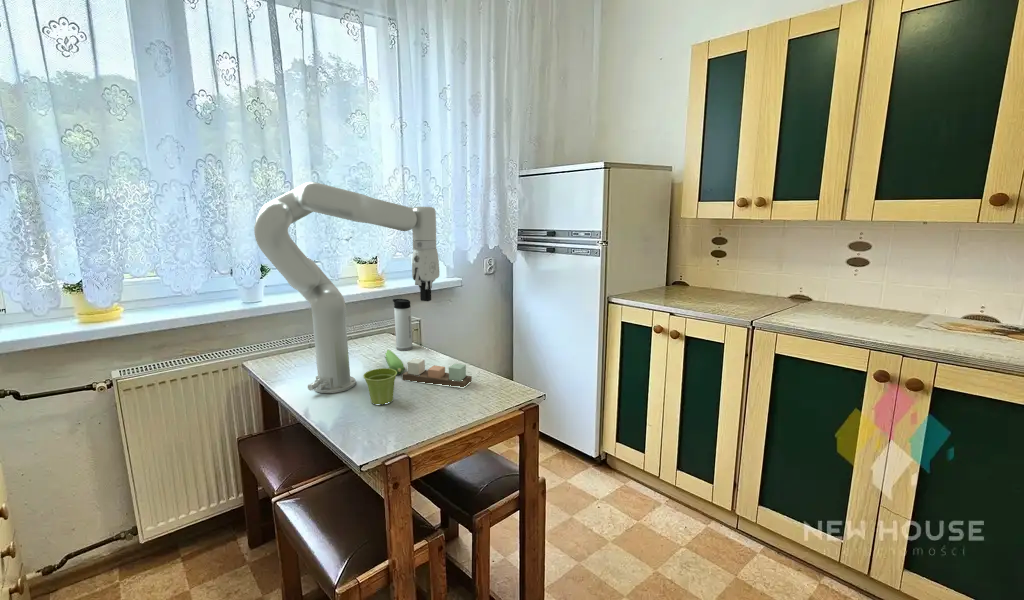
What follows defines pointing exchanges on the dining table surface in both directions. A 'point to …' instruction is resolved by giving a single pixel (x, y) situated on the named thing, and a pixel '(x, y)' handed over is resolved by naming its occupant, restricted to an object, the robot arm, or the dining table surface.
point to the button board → (436, 379)
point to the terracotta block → (436, 372)
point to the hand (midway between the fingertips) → (425, 300)
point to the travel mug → (403, 324)
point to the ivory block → (416, 366)
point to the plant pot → (380, 384)
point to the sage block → (457, 372)
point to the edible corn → (394, 362)
